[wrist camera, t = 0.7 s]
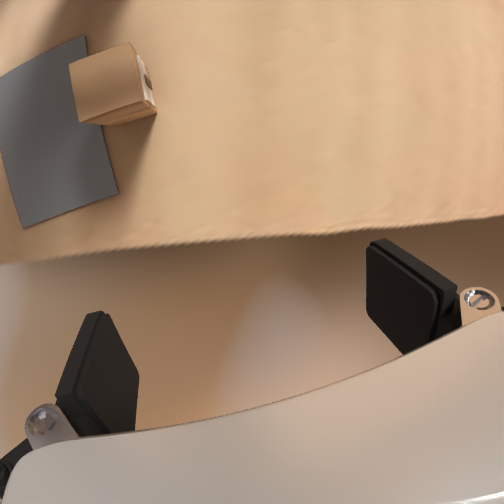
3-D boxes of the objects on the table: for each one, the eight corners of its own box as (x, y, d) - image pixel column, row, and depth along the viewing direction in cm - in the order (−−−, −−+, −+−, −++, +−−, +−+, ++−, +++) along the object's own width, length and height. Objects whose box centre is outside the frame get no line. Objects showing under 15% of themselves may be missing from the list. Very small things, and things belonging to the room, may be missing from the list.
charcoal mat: (-8, 83, 24) (-10, 83, 23) (85, 35, 25) (84, 34, 25) (24, 227, 31) (23, 228, 31) (118, 193, 33) (118, 193, 32)
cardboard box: (106, 86, 28) (68, 64, 17) (151, 71, 29) (133, 40, 18) (114, 126, 30) (79, 122, 19) (160, 112, 31) (145, 99, 20)
